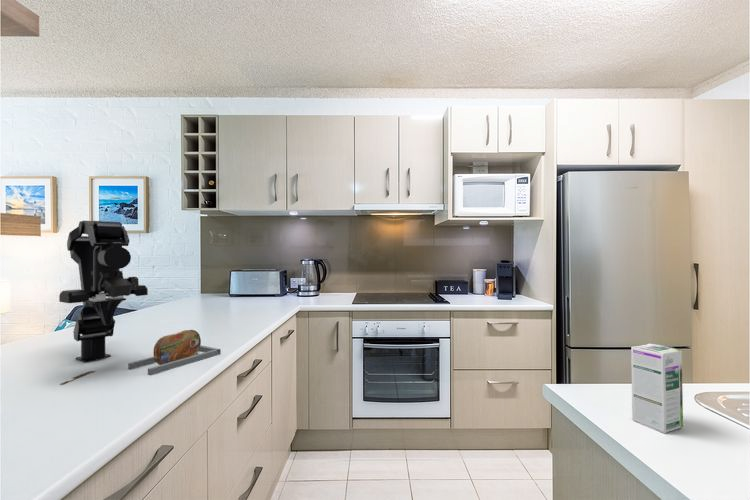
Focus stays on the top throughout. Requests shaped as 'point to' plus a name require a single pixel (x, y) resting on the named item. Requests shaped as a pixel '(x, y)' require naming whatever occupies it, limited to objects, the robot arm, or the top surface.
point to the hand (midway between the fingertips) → (106, 325)
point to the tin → (176, 346)
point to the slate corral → (208, 353)
